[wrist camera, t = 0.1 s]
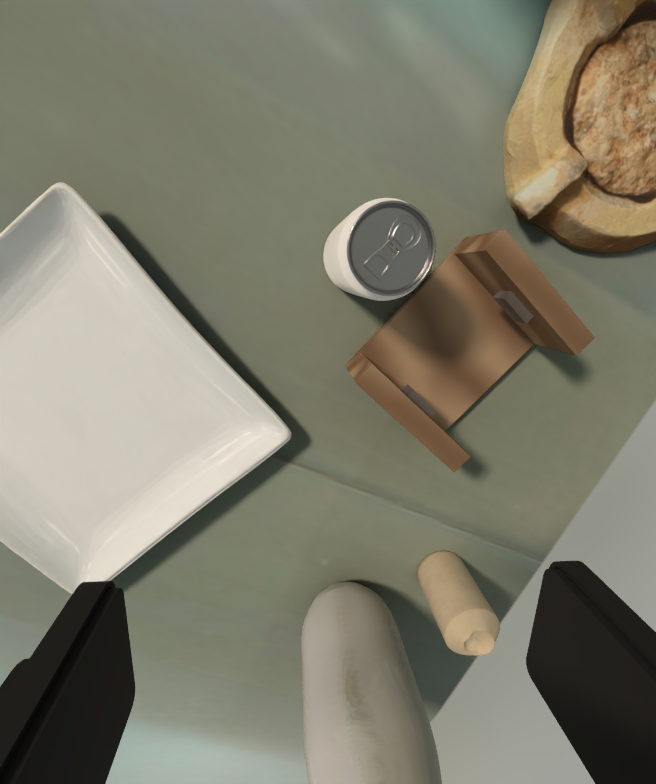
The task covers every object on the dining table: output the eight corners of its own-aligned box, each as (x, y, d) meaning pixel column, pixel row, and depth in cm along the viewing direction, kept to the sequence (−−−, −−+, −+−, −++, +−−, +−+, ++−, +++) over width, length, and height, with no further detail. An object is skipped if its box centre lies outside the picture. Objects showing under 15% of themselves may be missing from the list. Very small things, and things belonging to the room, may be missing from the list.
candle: (408, 582, 47) (439, 660, 38) (431, 543, 46) (469, 614, 37) (448, 595, 48) (488, 674, 39) (471, 558, 47) (519, 630, 38)
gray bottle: (400, 609, 48) (544, 1027, 22) (324, 648, 49) (373, 1104, 22) (363, 549, 45) (477, 943, 19) (283, 591, 46) (280, 1034, 19)
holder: (465, 237, 37) (505, 229, 31) (543, 327, 40) (594, 337, 34) (344, 365, 39) (357, 384, 33) (427, 441, 43) (454, 472, 36)
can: (408, 253, 37) (463, 245, 26) (360, 308, 38) (392, 323, 27) (356, 201, 36) (390, 167, 24) (307, 260, 36) (318, 254, 25)
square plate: (97, 578, 44) (80, 607, 40) (-142, 387, 36) (-191, 400, 32) (295, 424, 41) (296, 439, 37) (82, 183, 33) (57, 172, 30)
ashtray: (434, 167, 36) (458, 150, 31) (612, -123, 31) (671, -194, 27) (620, 311, 41) (665, 315, 36) (794, 80, 37) (870, 52, 32)
